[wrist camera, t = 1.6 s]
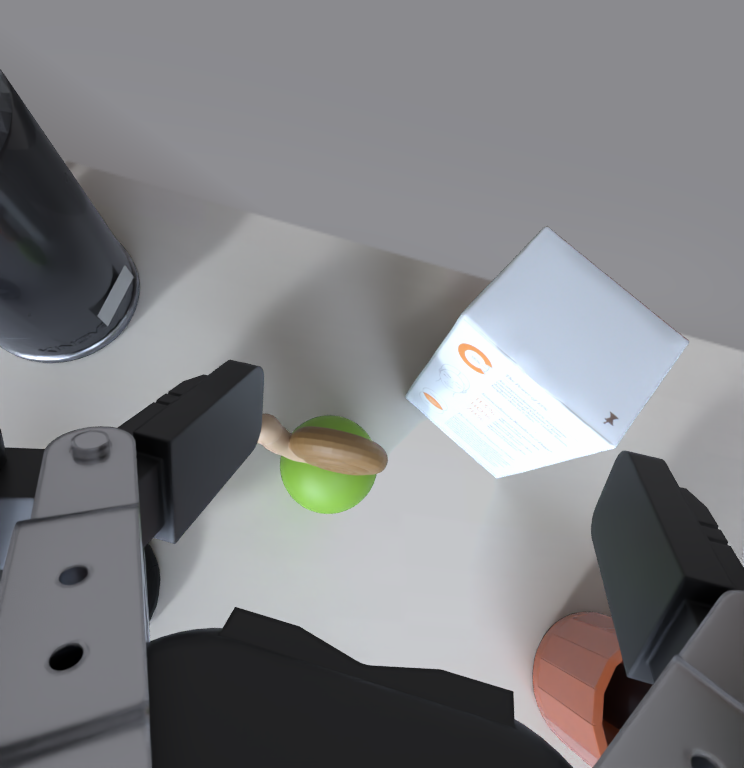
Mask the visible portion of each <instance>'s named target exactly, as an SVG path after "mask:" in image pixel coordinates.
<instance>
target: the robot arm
mask: <svg viewBox="0 0 744 768" xmlns="http://www.w3.org/2000/svg"><path fill="white" fill-rule="evenodd" d="M139 291H140V285H139V277H138V273H137V269H136V267H135V264H134V262H133V260H132V259H131V257H130V256H129V254H128V253H127V251H126V250H125V248H124V247H123V246H122V245H121V244H120V243H119V242H118V241H117V239H116V238H115V237H114V235H113V234H112V232H111V231H110V229H109V228H108V226H107V224H106V223H105V221H104V220H103V218H102V217H101V216H100V214H99V213H98V211H97V210H96V208H95V207H94V205H93V204H92V202H91V201H90V199H89V198H88V196H87V195H86V194H85V192H84V191H83V189H82V188H81V186H80V185H79V183H78V182H77V180H76V179H75V177H74V176H73V174H72V173H71V172H70V170H69V169H68V167H67V166H66V164H65V163H64V161H63V160H62V158H61V157H60V156H59V154H58V153H57V151H56V150H55V148H54V147H53V145H52V144H51V142H50V141H49V139H48V138H47V136H46V135H45V134H44V132H43V131H42V129H41V128H40V126H39V125H38V123H37V122H36V120H35V119H34V117H33V116H32V114H31V113H30V111H29V110H28V109H27V107H26V106H25V104H24V103H23V101H22V100H21V98H20V97H19V95H18V94H17V92H16V91H15V90H14V88H13V87H12V85H11V84H10V82H9V81H8V79H7V78H6V76H5V75H4V74H3V72H2V71H1V70H0V347H1V348H3V349H5V350H6V351H8V352H10V353H12V354H14V355H16V356H18V357H21V358H23V359H27V360H30V361H36V362H43V363H59V362H67V361H72V360H76V359H80V358H83V357H85V356H88V355H90V354H93V353H95V352H97V351H98V350H100V349H102V348H103V347H105V346H106V345H108V344H109V343H110V342H112V341H113V340H114V339H115V338H116V337H117V336H118V335H119V334H120V333H121V332H122V331H123V330H124V329H125V327H126V326H127V324H128V323H129V321H130V320H131V318H132V316H133V314H134V312H135V310H136V306H137V303H138V299H139ZM263 390H264V372H263V369H262V367H260V366H256V365H251V364H247V363H243V362H238V361H234V360H228V361H227V362H225V363H224V364H223V365H221V366H220V367H219V368H217V369H216V370H215V371H213V372H212V373H211V374H209V375H201V376H198V377H195V378H192V379H189V380H186V381H183V382H182V383H180V384H179V385H177V386H176V387H175V388H173V389H172V390H170V391H169V393H168V394H165V395H163V396H162V397H160V398H159V399H158V400H157V401H156V403H154V402H153V403H152V404H150V405H149V406H148V407H146V408H145V409H143V410H142V411H141V412H139V413H138V414H136V415H135V416H133V417H132V418H131V419H129V420H128V421H126V422H125V423H124V424H122V425H121V426H119V427H118V428H114V427H101V426H100V427H88V428H82V429H78V430H74V431H71V432H68V433H66V434H63V435H61V436H59V437H58V438H56V439H55V440H53V441H52V442H51V443H50V444H49V445H48V446H47V447H46V449H28V448H5V447H4V442H3V438H2V433H1V429H0V768H573V767H572V766H571V765H570V764H569V763H568V762H567V761H566V760H565V759H564V758H563V757H562V756H561V755H560V753H559V752H557V751H556V750H555V749H554V748H553V747H552V746H551V745H549V744H548V743H547V742H546V741H545V740H544V739H543V738H541V737H540V736H539V735H537V734H536V733H535V732H533V731H532V730H531V729H529V728H528V727H526V726H525V725H523V724H522V723H520V722H518V721H517V720H515V719H514V698H513V691H510V690H506V689H503V688H500V687H497V686H493V685H490V684H487V683H483V682H480V681H477V680H473V679H470V678H467V677H464V676H460V675H457V674H454V673H450V672H447V671H444V670H440V669H422V668H404V667H386V666H370V665H365V664H362V663H360V662H358V661H356V660H354V659H353V658H351V657H349V656H348V655H346V654H344V653H343V652H341V651H339V650H338V649H336V648H334V647H333V646H331V645H329V644H328V643H326V642H324V641H323V640H321V639H319V638H318V637H316V636H314V635H313V634H311V633H309V632H308V631H306V630H304V629H303V628H301V627H299V626H296V625H293V624H289V623H286V622H283V621H280V620H276V619H273V618H270V617H266V616H263V615H260V614H257V613H253V612H250V611H247V610H243V609H240V608H237V607H235V608H234V610H233V612H232V613H231V615H230V617H229V618H228V620H227V622H226V624H225V625H224V627H223V628H207V629H195V630H189V631H183V632H178V633H175V634H171V635H167V636H164V637H160V638H158V639H155V640H153V641H150V629H149V613H148V598H147V582H146V566H145V552H144V547H145V546H146V545H147V544H148V543H149V541H150V540H151V539H152V538H156V539H160V540H163V541H167V542H170V543H173V544H175V543H176V542H177V541H178V540H179V539H180V537H181V536H182V535H183V534H184V533H185V531H186V530H187V529H188V528H189V527H190V525H191V524H192V523H193V522H194V521H195V520H196V518H197V517H198V516H199V515H200V514H201V512H202V511H203V510H204V509H205V508H206V506H207V505H208V504H209V503H210V502H211V500H212V499H213V498H214V497H215V496H216V494H217V493H218V492H219V491H220V490H221V488H222V487H223V486H224V485H225V484H226V482H227V481H228V480H229V479H230V478H231V476H232V475H233V474H234V473H235V472H236V470H237V469H238V468H239V467H240V466H241V465H242V463H243V462H244V461H245V460H246V459H247V457H248V456H249V455H250V454H251V453H252V451H253V450H254V448H255V447H256V445H257V442H258V440H259V437H260V433H261V428H262V411H263ZM591 536H592V541H593V545H594V549H595V553H596V557H597V560H598V564H599V568H600V572H601V576H602V580H603V584H604V588H605V592H606V596H607V600H608V604H609V608H610V612H611V616H612V620H613V623H614V627H615V631H616V635H617V639H618V643H619V647H620V651H621V655H622V659H623V663H624V667H625V671H626V675H627V677H629V678H632V679H635V680H639V681H642V682H646V683H649V684H653V685H652V687H651V688H650V689H649V691H648V692H647V694H646V695H645V696H644V698H643V699H642V700H641V702H640V703H639V705H638V706H637V707H636V709H635V710H634V711H633V713H632V714H631V716H630V717H629V718H628V720H627V721H626V722H625V724H624V725H623V726H622V728H621V729H620V731H619V732H618V733H617V735H616V736H615V737H614V739H613V740H612V742H611V743H610V744H609V746H608V747H607V748H606V750H605V751H604V753H603V754H602V755H601V757H600V758H599V759H598V761H597V762H596V764H595V765H594V766H593V768H744V568H743V566H742V564H741V563H740V561H739V559H738V558H737V556H736V554H735V553H734V551H733V549H732V548H731V546H728V545H727V544H728V541H727V540H726V538H725V536H724V535H723V533H722V531H721V530H719V529H718V525H717V523H716V521H715V520H714V518H713V517H712V515H711V513H710V512H709V510H708V508H707V507H706V506H705V505H704V504H703V503H702V502H700V501H699V500H698V499H697V498H696V497H695V496H694V495H693V494H692V493H690V492H689V491H688V490H687V489H685V488H681V487H679V486H678V484H677V482H676V480H675V478H674V477H673V475H672V473H671V471H670V470H669V468H668V466H667V464H666V462H665V461H664V460H663V459H659V458H655V457H651V456H646V455H642V454H638V453H633V452H629V451H622V452H621V453H620V454H619V455H618V457H617V458H616V460H615V462H614V465H613V467H612V470H611V472H610V474H609V477H608V479H607V481H606V484H605V486H604V488H603V491H602V493H601V496H600V498H599V500H598V503H597V505H596V507H595V510H594V513H593V518H592V524H591Z"/></svg>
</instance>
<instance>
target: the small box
mask: <svg viewBox="0 0 744 768" xmlns="http://www.w3.org/2000/svg"><path fill="white" fill-rule="evenodd" d="M688 344H689V341H688V340H687V339H686V338H685V337H683V336H682V335H681V334H680V333H678V332H677V331H676V330H675V329H673V328H672V327H671V326H670V325H668V324H667V323H666V322H665V321H664V320H662V319H661V318H660V317H659V316H657V315H656V314H655V313H654V312H652V311H651V310H650V309H649V308H647V307H646V306H645V305H644V304H643V303H641V302H640V301H639V300H637V299H636V298H635V297H634V296H633V295H631V294H630V293H629V292H628V291H626V290H625V289H624V288H623V287H621V286H620V285H619V284H618V283H617V282H615V281H614V280H613V279H612V278H611V277H609V276H608V275H607V274H606V273H604V272H603V271H602V270H600V269H599V268H598V267H597V266H595V265H594V264H593V263H592V262H591V261H589V260H588V259H587V258H586V257H585V256H583V255H582V254H581V253H580V252H578V251H577V250H576V249H575V248H573V247H572V246H571V245H570V244H569V243H567V242H566V241H565V240H564V239H562V238H561V237H560V236H559V235H558V234H556V233H555V232H554V231H553V230H552V229H550V228H549V227H548V226H546V227H544V228H543V229H542V230H541V231H540V232H539V233H538V234H537V235H536V236H535V237H534V238H533V239H532V240H531V241H530V242H529V243H528V244H527V245H526V246H525V247H524V249H523V250H522V251H521V252H520V253H519V254H518V255H517V256H516V257H515V258H514V259H513V260H512V261H511V262H510V263H509V264H508V265H507V266H506V267H505V268H504V269H503V270H502V271H501V272H500V274H499V275H498V276H497V277H496V278H495V279H494V280H493V281H492V282H491V283H490V284H489V285H488V286H487V287H486V288H485V289H484V290H483V291H482V292H481V293H480V294H479V295H478V296H477V297H476V298H475V299H474V300H473V302H472V303H471V304H470V305H469V306H468V307H467V308H466V309H465V310H464V311H463V312H462V314H461V315H460V317H459V318H458V320H457V321H456V323H455V324H454V326H453V327H452V329H451V330H450V332H449V333H448V335H447V336H446V338H445V339H444V340H443V342H442V343H441V345H440V346H439V347H438V349H437V350H436V352H435V353H434V355H433V356H432V358H431V359H430V360H429V362H428V363H427V365H426V366H425V367H424V369H423V370H422V371H421V373H420V374H419V376H418V377H417V379H416V380H415V382H414V383H413V384H412V386H411V387H410V389H409V390H408V392H407V394H406V396H405V397H406V398H407V399H408V400H409V401H410V402H411V403H412V404H413V405H414V406H415V407H416V408H418V409H419V410H420V411H421V412H422V413H423V414H424V415H425V416H426V417H428V418H429V419H430V420H431V421H432V422H433V423H434V424H435V425H437V426H438V427H439V428H440V429H441V430H442V431H443V432H444V433H446V434H447V435H448V436H449V437H450V438H451V439H452V440H453V441H455V442H456V443H457V444H458V445H459V446H460V447H461V448H462V449H464V450H465V451H466V452H467V453H468V454H469V455H470V456H471V457H473V458H474V459H475V460H476V461H477V462H478V463H479V464H481V465H482V466H483V467H484V468H485V469H486V470H488V471H489V472H490V473H491V474H492V475H493V476H494V477H496V478H497V479H498V478H502V477H506V476H510V475H513V474H517V473H521V472H525V471H529V470H533V469H537V468H540V467H544V466H548V465H552V464H556V463H559V462H563V461H567V460H571V459H575V458H579V457H583V456H587V455H590V454H594V453H598V452H602V451H606V450H610V449H614V448H616V447H617V445H618V444H619V442H620V441H621V439H622V438H623V436H624V435H625V433H626V432H627V430H628V429H629V427H630V426H631V424H632V423H633V421H634V420H635V418H636V417H637V415H638V414H639V413H640V411H641V410H642V408H643V407H644V406H645V404H646V403H647V401H648V400H649V399H650V397H651V396H652V394H653V393H654V392H655V390H656V389H657V387H658V386H659V384H660V383H661V382H662V380H663V379H664V377H665V376H666V374H667V373H668V372H669V370H670V369H671V368H672V366H673V365H674V363H675V362H676V361H677V359H678V358H679V356H680V355H681V353H682V352H683V350H684V349H685V348H686V346H687V345H688Z"/></svg>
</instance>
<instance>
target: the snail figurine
mask: <svg viewBox="0 0 744 768" xmlns="http://www.w3.org/2000/svg"><path fill="white" fill-rule="evenodd" d="M257 443H259V444H262V445H263V446H264V447H265V448H266V449H268V450H269V451H271V452H273V453H276V454H278V455H281V459H280V471H281V477H282V480H283V483H284V486H285V488H286V489H287V491H288V493H289V494H290V495H291V497H292V498H293V499H294V500H295V501H296V502H297V503H299V504H300V505H301V506H303V507H305V508H306V509H309V510H311V511H314V512H318V513H324V514H332V513H339V512H343V511H346V510H348V509H350V508H352V507H354V506H355V505H357V504H358V503H359V502H360V501H362V500H363V499H364V498H365V496H366V495H367V494H368V493H369V491H370V489H371V488H372V486H373V484H374V481H375V478H376V474H378V473H380V472H382V471H383V470H384V469H385V467H386V465H387V462H388V458H387V454H386V452H385V450H384V449H383V448H382V447H381V446H380V445H378V444H377V443H375V442H373V441H372V440H371V439H370V437H369V435H368V434H367V433H366V432H365V431H364V430H363V429H362V428H361V427H360V426H359V425H358V424H356V423H355V422H353V421H351V420H349V419H346V418H344V417H340V416H333V415H326V416H319V417H315V418H312V419H310V420H308V421H306V422H304V423H303V424H301V425H300V426H299V427H297V428H296V429H295V430H294V431H293V432H292V433H290V432H288V430H286V429H285V428H284V427H283V426H282V425H281V424H280V422H279V420H278V419H277V418H275V417H274V416H272V415H270V414H262V428H261V433H260V437H259V440H258V442H257Z"/></svg>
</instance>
